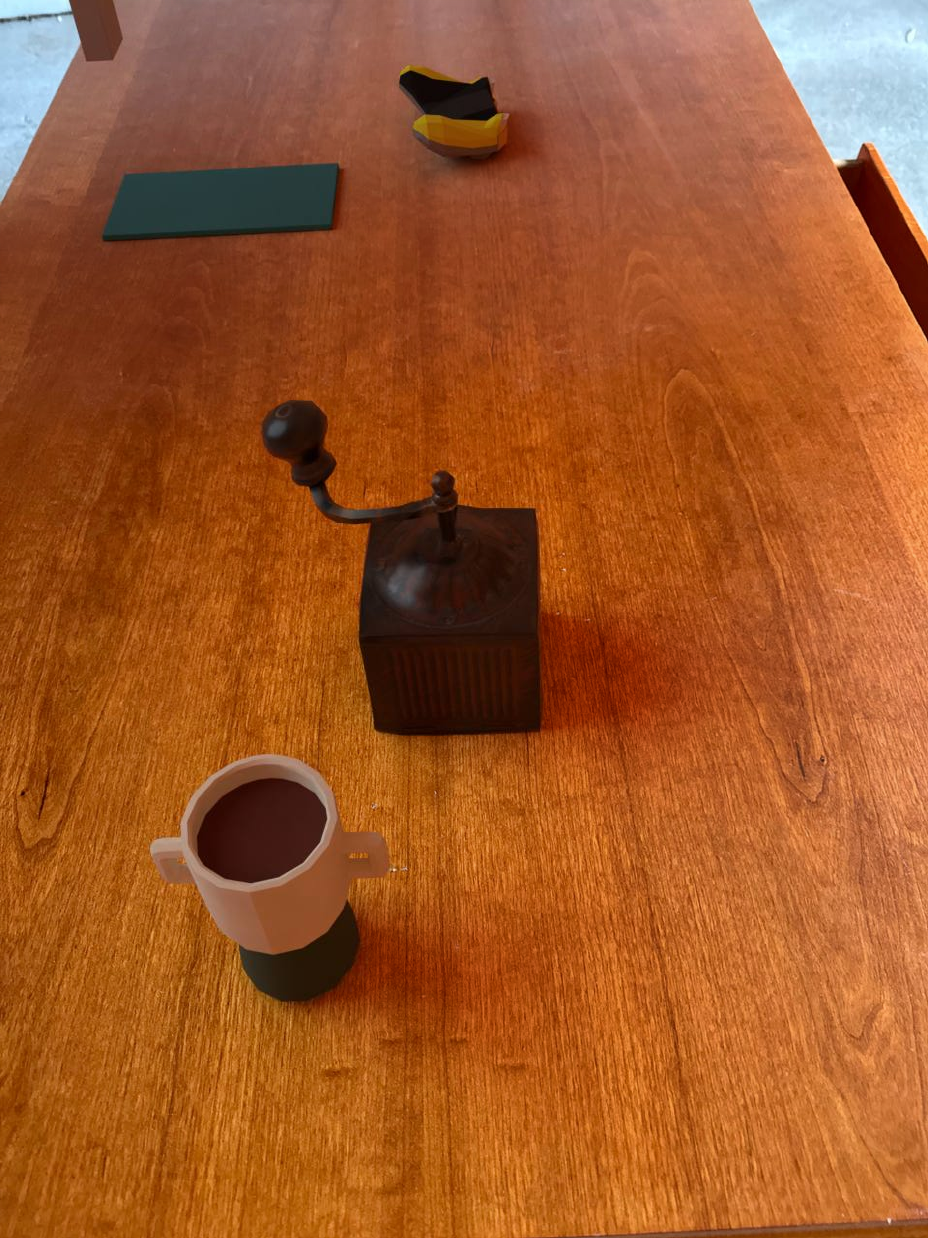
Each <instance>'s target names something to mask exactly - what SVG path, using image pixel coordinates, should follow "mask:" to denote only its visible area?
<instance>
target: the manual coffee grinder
mask: <svg viewBox="0 0 928 1238" xmlns="http://www.w3.org/2000/svg"><path fill="white" fill-rule="evenodd" d="M328 429H329V422H328V417H327V415H326V414H325V413H324V411H323V410H322V409H321V408H320V407H319V405H317V404H316V403H315V402H314V401H313V400H310V399H309V400H308V399H307V400H306V399H305V400H304V399H290V400H287V401H285V402H282V403H280V404H278V405H276V406H274V408H272V409H270V410H269V411H268V412H267V414H266V415H265V416H264V418H263V420H262V422H261V430H260V431H261V432H260V433H261V439H262V444H263V446H264V448H265V450H266V452H267V453H268V454H269V455H271V456H272V457H273V458H276V459H279V460H282V461H284V462H287V463H288V464H289V465H290V477H291V478H290V479H291V481H292V482H293V483H294V485H296V486H298V487H308V489H309V491H310V495H311V496H312V499H313V503H314V505H315V507H316V508H317V510H318V511H319V512H320V513H321V515H322V516H324V518H326V519H329V520H330V521H331V522H335V523H336V524H345V525H365V524H369V527H368V531H367V537H366V543H365V551H364V552H365V553H364V561H363V570H362V578H361V585H360V591H359V597H358V598H359V599H358V643H359V650H360V655H361V659H362V664H363V670H364V673H365V679H366V684H367V688H368V694H369V699H370V705H371V712H372V718H373V719H372V720H373V730H375V731H376V732H378V733H385V734H391V735H398V736H473V735H474V736H475V735H477V736H478V735H491V734H492V735H495V734H514V733H534V732H535V733H536V732H540V731H541V728H542V721H543V720H542V719H543V711H544V710H543V708H544V693H543V692H544V690H543V679H542V678H543V677H542V637H541V615H542V604H541V603H542V602H541V601H542V600H541V599H542V598H541V593H542V592H541V590H542V589H541V544H540V528H539V521H538V517H537V510H536V509H537V508H536V507H477V506H470V505H465V504H459V493H458V492H457V491H456V489H454V488H455V483H456V478H455V476H453V475H452V474H451V473H450V472H448V471H446V470H445V469H441V470H438V471H436V472H434V475H433V477H432V480H431V482H430V483H429V485H430V486H431V488H432V490H433V492H432V493H431V494H430V495H431V496H428V497H424V498H422V499H418V500H415V501H409V502H406V503H403V504H401V505H397V506H388V507H378V508H365V509H364V508H363V509H356V508H348V507H344V506H342V505H340V504H339V503H337V502H335V500H333V498H332V497H331V495H330V493H329V490H328V488H327V485H326V484H327V483H326V482H327V481H328V480H329V478H330V477H331V476H332V475H333V474H334V471H335V469H336V468H337V465H338V462H337V460H336V458H335V457H334V455H333V453H332V452H330V451H328V449H326V447H325V445H326V443H325V442H326V436H327V432H328Z"/></svg>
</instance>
